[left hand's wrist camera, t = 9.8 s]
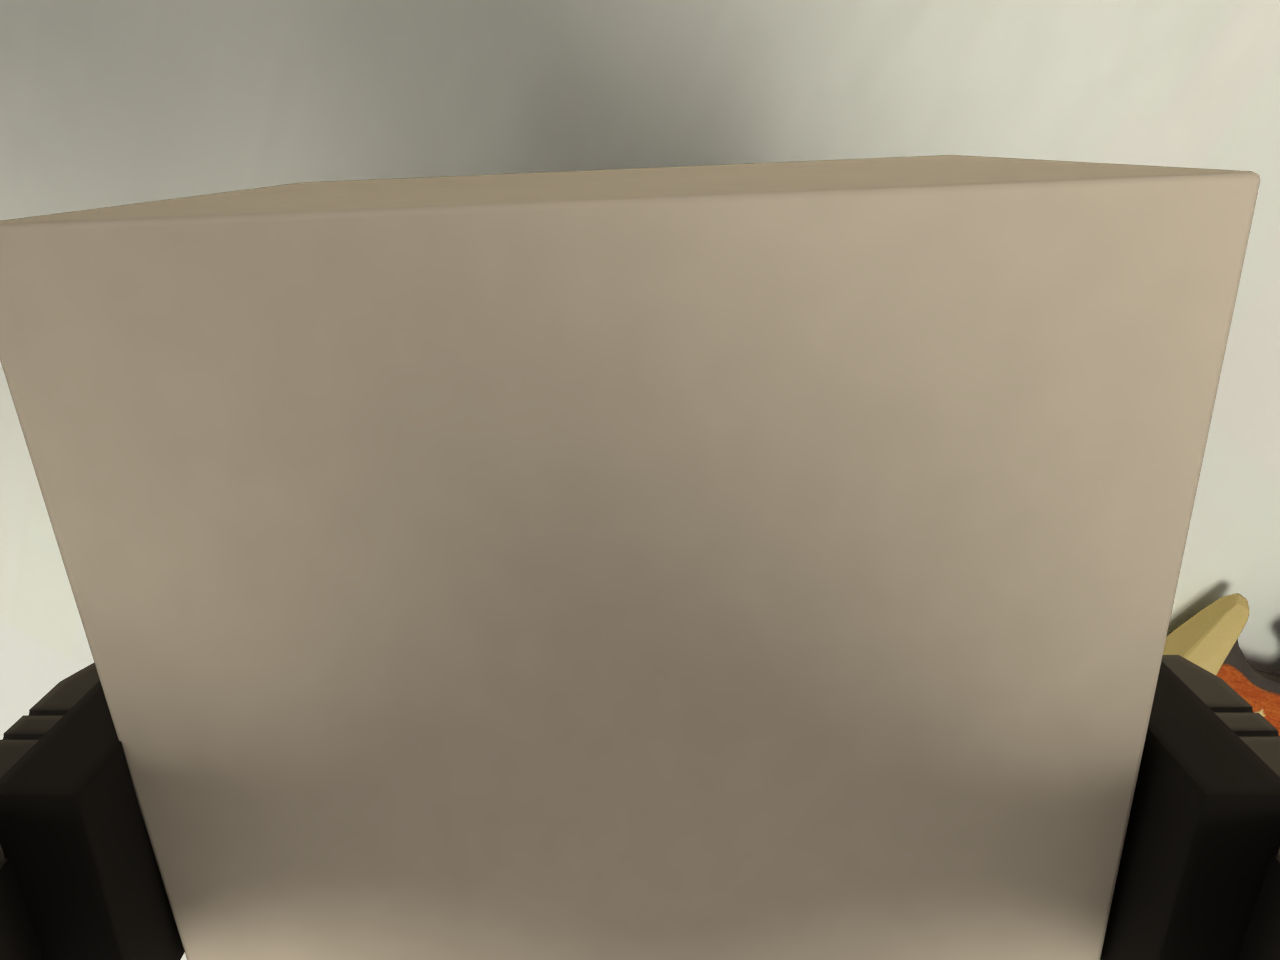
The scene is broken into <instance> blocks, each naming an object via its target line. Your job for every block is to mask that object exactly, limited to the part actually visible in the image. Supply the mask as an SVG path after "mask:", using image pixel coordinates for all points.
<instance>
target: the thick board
mask: <svg viewBox="0 0 1280 960" xmlns="http://www.w3.org/2000/svg"><path fill="white" fill-rule="evenodd" d="M1259 184H1260V177H1259V175H1258V174H1256V173H1254V172H1251V171H1235V170H1217V169H1199V168H1181V167H1162V166H1144V165H1126V164H1107V163H1089V162H1071V161H1053V160H1034V159H1016V158H998V157H980V156H961V155H939V156H916V157H892V158H868V159H845V160H821V161H798V162H774V163H751V164H727V165H703V166H680V167H656V168H633V169H609V170H586V171H562V172H538V173H515V174H491V175H468V176H444V177H421V178H397V179H373V180H350V181H326V182H303V183H294V184H286V185H278V186H270V187H262V188H255V189H247V190H239V191H231V192H223V193H215V194H207V195H200V196H192V197H184V198H176V199H168V200H160V201H152V202H145V203H137V204H129V205H121V206H113V207H105V208H97V209H90V210H82V211H74V212H66V213H58V214H50V215H42V216H35V217H27V218H19V219H11V220H3V221H0V360H1V364H2V367H3V370H4V373H5V376H6V380H7V383H8V386H9V389H10V392H11V396H12V399H13V402H14V405H15V409H16V412H17V415H18V418H19V421H20V425H21V428H22V431H23V434H24V437H25V441H26V444H27V447H28V450H29V453H30V457H31V460H32V463H33V466H34V469H35V473H36V476H37V479H38V482H39V486H40V489H41V492H42V495H43V498H44V502H45V505H46V508H47V511H48V514H49V518H50V521H51V524H52V527H53V530H54V534H55V537H56V540H57V543H58V547H59V550H60V553H61V556H62V559H63V563H64V566H65V569H66V572H67V575H68V579H69V582H70V585H71V588H72V591H73V595H74V598H75V601H76V604H77V607H78V611H79V614H80V617H81V620H82V624H83V627H84V630H85V633H86V636H87V640H88V643H89V646H90V649H91V652H92V656H93V659H94V662H95V665H96V668H97V672H98V675H99V678H100V681H101V685H102V688H103V691H104V694H105V697H106V701H107V704H108V707H109V710H110V713H111V717H112V720H113V723H114V726H115V729H116V733H117V736H118V739H119V741H121V742H122V746H123V749H124V753H125V756H126V760H127V764H128V767H129V771H130V775H131V778H132V782H133V785H134V789H135V793H136V796H137V800H138V803H139V806H140V810H141V813H142V816H143V819H144V823H145V826H146V829H147V832H148V835H149V839H150V842H151V845H152V848H153V851H154V855H155V858H156V861H157V864H158V867H159V871H160V874H161V877H162V880H163V883H164V887H165V890H166V893H167V896H168V900H169V903H170V906H171V909H172V912H173V916H174V919H175V922H176V925H177V928H178V932H179V935H180V938H181V941H182V944H183V948H184V951H185V954H186V957H187V960H1100V957H1101V952H1102V947H1103V942H1104V937H1105V933H1106V928H1107V923H1108V918H1109V913H1110V908H1111V903H1112V899H1113V894H1114V889H1115V884H1116V879H1117V874H1118V869H1119V865H1120V860H1121V855H1122V850H1123V845H1124V840H1125V835H1126V831H1127V826H1128V821H1129V816H1130V811H1131V806H1132V801H1133V796H1134V792H1135V787H1136V782H1137V777H1138V772H1139V767H1140V762H1141V758H1142V753H1143V748H1144V743H1145V738H1146V733H1147V728H1148V724H1149V719H1150V714H1151V709H1152V704H1153V699H1154V694H1155V690H1156V685H1157V680H1158V675H1159V670H1160V665H1161V660H1162V656H1163V651H1164V646H1165V641H1166V636H1167V631H1168V626H1169V622H1170V617H1171V612H1172V607H1173V602H1174V597H1175V592H1176V588H1177V583H1178V578H1179V573H1180V568H1181V563H1182V558H1183V553H1184V549H1185V544H1186V539H1187V534H1188V529H1189V524H1190V519H1191V515H1192V510H1193V505H1194V500H1195V495H1196V490H1197V485H1198V481H1199V476H1200V471H1201V466H1202V461H1203V456H1204V451H1205V447H1206V442H1207V437H1208V432H1209V427H1210V422H1211V417H1212V413H1213V408H1214V403H1215V398H1216V393H1217V388H1218V383H1219V379H1220V374H1221V369H1222V364H1223V359H1224V354H1225V349H1226V344H1227V340H1228V335H1229V330H1230V325H1231V320H1232V315H1233V310H1234V306H1235V301H1236V296H1237V291H1238V286H1239V281H1240V276H1241V272H1242V267H1243V262H1244V257H1245V252H1246V247H1247V242H1248V238H1249V233H1250V228H1251V223H1252V218H1253V213H1254V208H1255V204H1256V199H1257V194H1258V189H1259Z"/></svg>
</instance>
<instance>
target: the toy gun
mask: <svg viewBox="0 0 1280 960" xmlns="http://www.w3.org/2000/svg"><path fill="white" fill-rule="evenodd" d="M1248 616H1249V607H1248V601H1247V600H1246V598H1245V597H1243V596H1242V595H1240V594H1232V595H1228V596H1224V597H1221V598H1219V599H1218V600H1216V601H1215V602H1213V603H1212V604H1210V605H1209V606H1207V607H1206V608H1204V609H1203V610H1201V611H1200V612H1198V613H1197V614H1196V615H1194V616H1193V617H1192V618H1190V619H1189V620H1188V621H1186V622H1185V623H1183V624H1182V625H1181V626H1179V627H1178V628H1177V629H1175V630H1174V631H1173V632H1172V633H1171V634H1169V635H1168V636H1167V637H1166V641H1165V646H1164V651H1163V655H1180V656H1182V657H1183V658H1185V659H1187V660H1189V661H1191V662H1192V663H1194V664H1196V665H1198V666H1200V667H1201V668H1203V669H1205V670H1207V671H1209V672H1210V673H1212V674H1214V675H1216V676H1218V677H1219V678H1221V679H1223V680H1224V681H1225V682H1226V683H1227V684H1228V685H1229V686H1230V687H1231V688H1232V689H1233V690H1235V691H1236V692H1237V693H1238V694H1239V695H1240V696H1241V697H1242V698H1243V699H1244V700H1246V701H1247V702H1248V703H1249V704H1250V705H1251V706H1252V707H1253V712H1254V713H1260V714H1261V715H1262V716H1263V717H1264V718H1265V719H1266V720H1267V721H1268V722H1270V723H1271V724H1272V725H1273V726H1274V727H1275V728H1276V729H1277V730H1278V734H1279V736H1280V677H1276V676H1273V675H1270V674H1267V673H1264V672H1261V671H1258V670H1255V669H1253V668H1252V667H1251V666H1250V664H1249V663H1248V662H1247V660H1246V659H1245V657H1244V655H1243V653H1242V651H1241V649H1240V648H1239V645H1238V637H1239V635H1240V633H1241V631H1242V630H1243V628H1244V626H1245V624H1246V622H1247V620H1248Z"/></svg>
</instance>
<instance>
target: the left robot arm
mask: <svg viewBox="0 0 1280 960" xmlns="http://www.w3.org/2000/svg"><path fill="white" fill-rule="evenodd" d="M29 711H30V713H29V715H28V716H22V717H21V718H20V719H19V720H18V721H17V722H16V723H15V724H14V725H13V726H12V727H10V728H9V729H8V730H7V731H6V732H5V733H4V737H3V740H0V960H180V959H181V958H182V956H183V954H184V952H185V951H184V948H183V944H182V941H181V938H180V935H179V932H178V928H177V925H176V922H175V919H174V916H173V912H172V909H171V906H170V903H169V900H168V896H167V893H166V890H165V887H164V883H163V880H162V877H161V874H160V871H159V867H158V864H157V861H156V858H155V855H154V851H153V848H152V845H151V842H150V839H149V835H148V832H147V829H146V826H145V823H144V819H143V816H142V813H141V810H140V806H139V803H138V800H137V796H136V793H135V789H134V785H133V782H132V778H131V775H130V771H129V767H128V764H127V760H126V756H125V753H124V749H123V746H122V742H121V741H119V739H118V736H117V733H116V729H115V726H114V723H113V720H112V717H111V713H110V710H109V707H108V704H107V701H106V697H105V694H104V691H103V688H102V685H101V681H100V678H99V675H98V672H97V668H96V665H95V663H93V664H91V665H89V666H87V667H86V668H84V669H82V670H80V671H78V672H77V673H75V674H73V675H71V676H70V677H68V678H66V679H64V680H62V681H61V682H59V683H58V684H57V685H56V686H55V687H54V688H53V689H52V690H51V691H50V692H48V693H47V694H46V695H45V696H44V697H43V698H42V699H41V700H40V701H39V702H38V703H37V704H35V705H34V706H33V707H32V708H31V709H30V710H29ZM1100 959H1101V960H1280V736H1279V734H1278V730H1277V729H1276V728H1275V727H1274V726H1273V725H1272V724H1271V723H1270V722H1268V721H1267V720H1266V719H1265V718H1264V717H1263V716H1262V715H1261V714H1260V713H1254V712H1253V707H1252V706H1251V705H1250V704H1249V703H1248V702H1247V701H1246V700H1244V699H1243V698H1242V697H1241V696H1240V695H1239V694H1238V693H1237V692H1236V691H1235V690H1233V689H1232V688H1231V687H1230V686H1229V685H1228V684H1227V683H1226V682H1225V681H1224V680H1223V679H1221V678H1219V677H1218V676H1216V675H1214V674H1212V673H1210V672H1209V671H1207V670H1205V669H1203V668H1201V667H1200V666H1198V665H1196V664H1194V663H1192V662H1191V661H1189V660H1187V659H1185V658H1183V657H1182V656H1180V655H1163V656H1162V660H1161V665H1160V670H1159V675H1158V680H1157V685H1156V690H1155V694H1154V699H1153V704H1152V709H1151V714H1150V719H1149V724H1148V728H1147V733H1146V738H1145V743H1144V748H1143V753H1142V758H1141V762H1140V767H1139V772H1138V777H1137V782H1136V787H1135V792H1134V796H1133V801H1132V806H1131V811H1130V816H1129V821H1128V826H1127V831H1126V835H1125V840H1124V845H1123V850H1122V855H1121V860H1120V865H1119V869H1118V874H1117V879H1116V884H1115V889H1114V894H1113V899H1112V903H1111V908H1110V913H1109V918H1108V923H1107V928H1106V933H1105V937H1104V942H1103V947H1102V952H1101V957H1100Z"/></svg>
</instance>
